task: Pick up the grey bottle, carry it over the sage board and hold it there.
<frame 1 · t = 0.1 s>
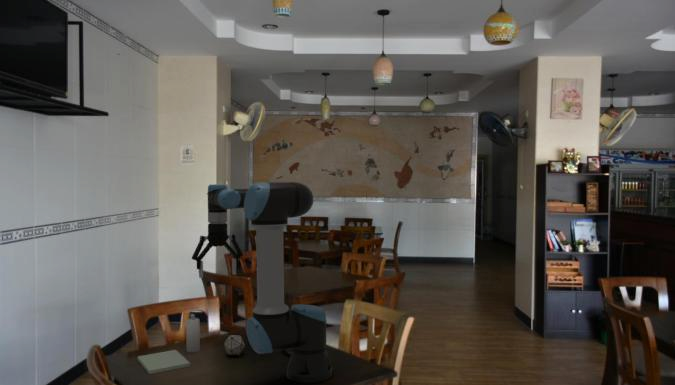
hand: (217, 276, 208), 28 cm above the table, tool pointing down, fingers open, 13 cm apart
game die: (234, 355, 196), on the table
sage board: (163, 362, 189), on the table
grey bottle: (193, 350, 203), on the table
pie: (301, 351, 201), on the table
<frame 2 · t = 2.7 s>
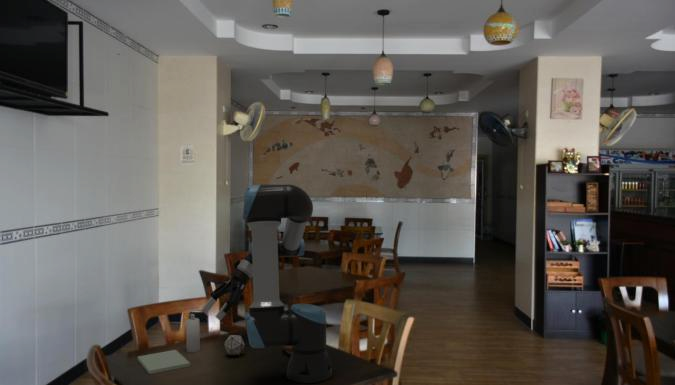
hand: (210, 315, 208), 12 cm above the table, tool tilted 45°, fingers open, 13 cm apart
nothing on the table moved.
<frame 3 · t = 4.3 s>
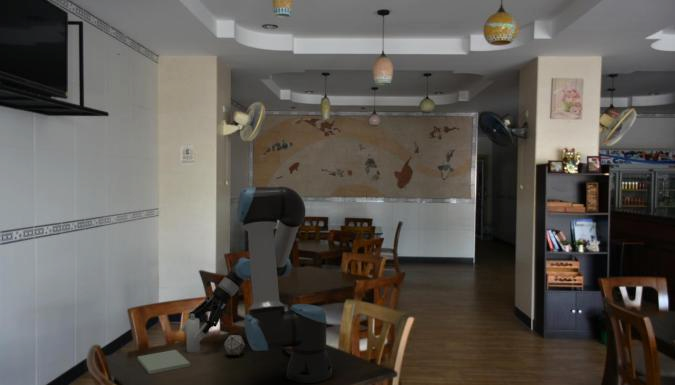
hand: (189, 335, 203), 6 cm above the table, tool tilted 45°, fingers open, 13 cm apart
nothing on the table moved.
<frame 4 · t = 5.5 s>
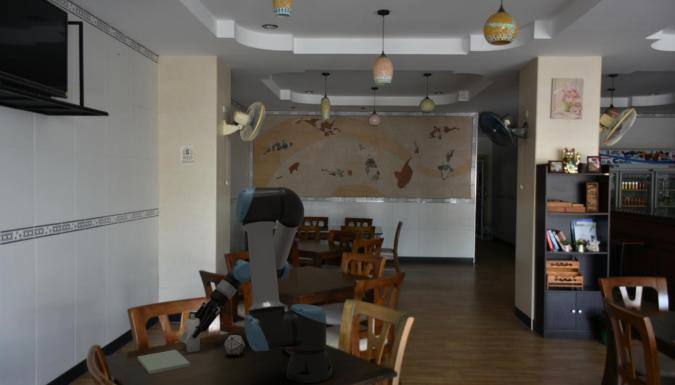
hand: (183, 342, 201), 4 cm above the table, tool tilted 45°, fingers closed on grey bottle, 5 cm apart
grey bottle: (193, 350, 203), on the table, touching gripper
everything else where it was.
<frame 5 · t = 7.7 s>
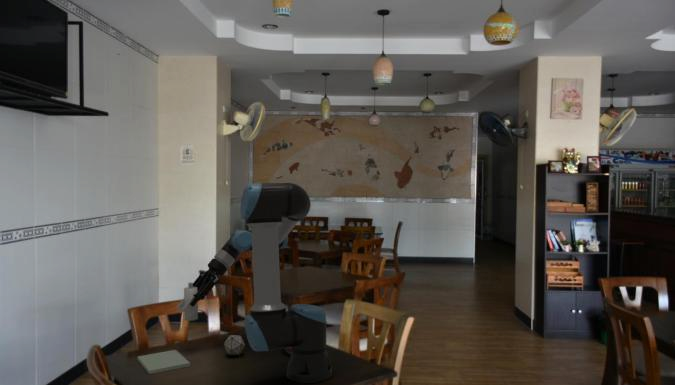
hand: (181, 310, 200), 16 cm above the table, tool tilted 45°, fingers closed on grey bottle, 5 cm apart
grey bottle: (191, 318, 202), point 12 cm above the table, touching gripper
everything else where it was.
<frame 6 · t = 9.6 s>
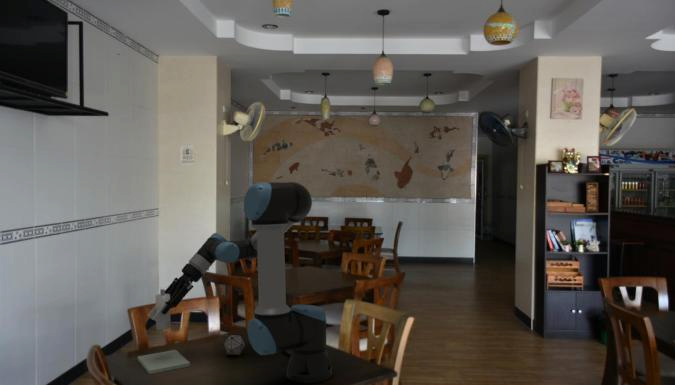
hand: (152, 319, 188), 16 cm above the table, tool tilted 45°, fingers closed on grey bottle, 5 cm apart
grey bottle: (163, 327, 190), point 12 cm above the table, touching gripper
everything else where it was.
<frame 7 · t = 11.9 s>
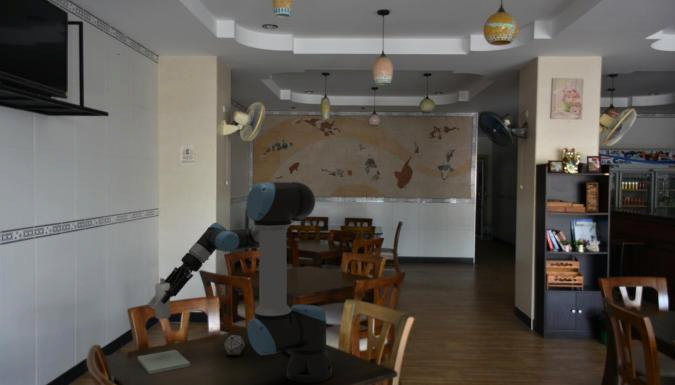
hand: (152, 308, 188), 20 cm above the table, tool tilted 45°, fingers closed on grey bottle, 5 cm apart
grey bottle: (163, 317, 190), point 16 cm above the table, touching gripper
everything else where it was.
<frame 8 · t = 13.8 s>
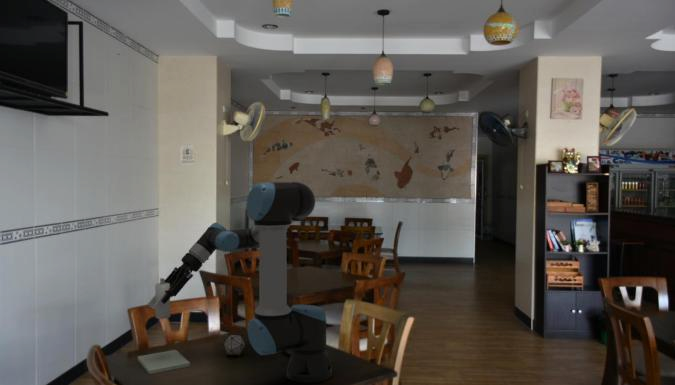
hand: (152, 308, 188), 20 cm above the table, tool tilted 45°, fingers closed on grey bottle, 5 cm apart
grey bottle: (163, 317, 190), point 16 cm above the table, touching gripper
everything else where it was.
at the end: the gripper is holding grey bottle; grey bottle inside the target area (0.0 cm from its centre), point 16.4 cm above the table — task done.
